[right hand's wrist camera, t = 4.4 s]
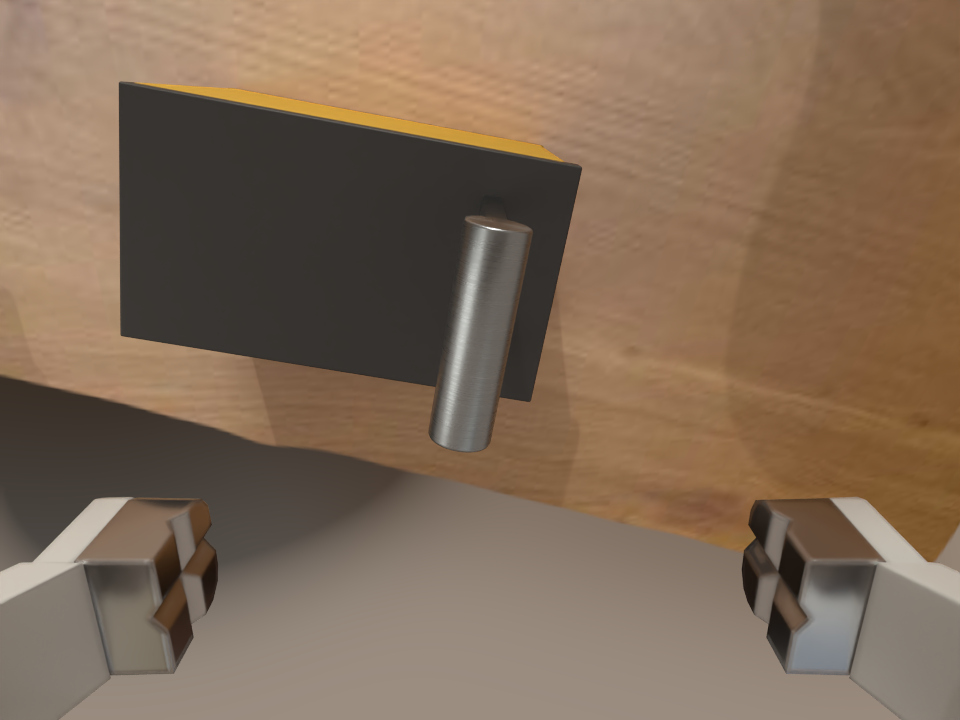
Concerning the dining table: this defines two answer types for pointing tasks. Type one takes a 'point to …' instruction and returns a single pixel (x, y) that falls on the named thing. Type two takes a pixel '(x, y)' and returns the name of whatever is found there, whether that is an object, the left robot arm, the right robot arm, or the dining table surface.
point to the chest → (366, 119)
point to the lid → (340, 248)
